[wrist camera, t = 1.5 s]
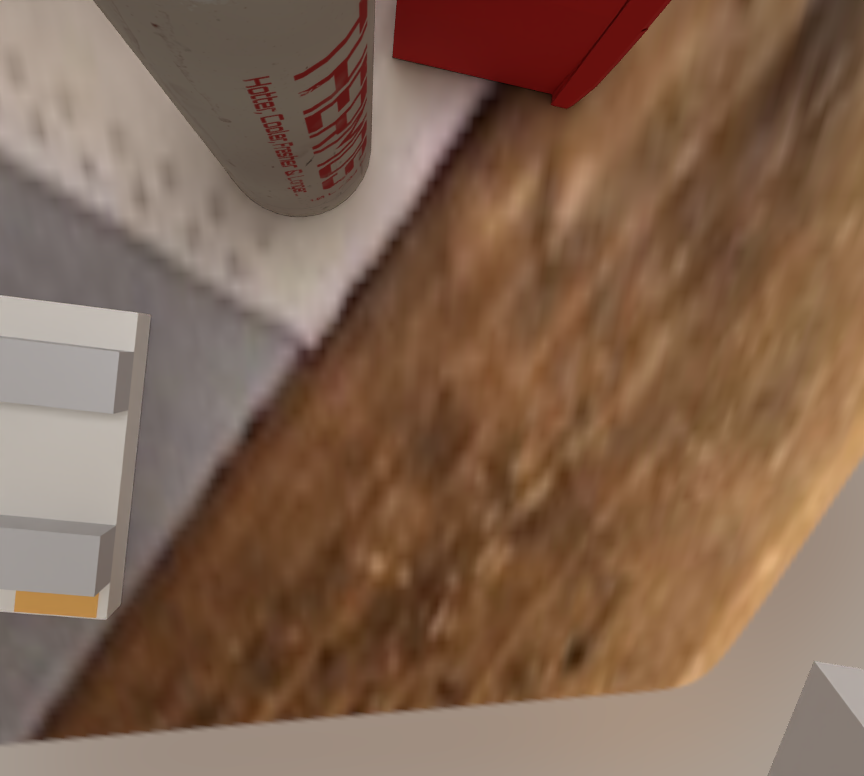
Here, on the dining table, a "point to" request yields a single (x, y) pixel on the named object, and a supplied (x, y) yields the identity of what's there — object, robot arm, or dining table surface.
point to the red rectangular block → (524, 39)
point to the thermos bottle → (266, 88)
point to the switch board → (67, 453)
